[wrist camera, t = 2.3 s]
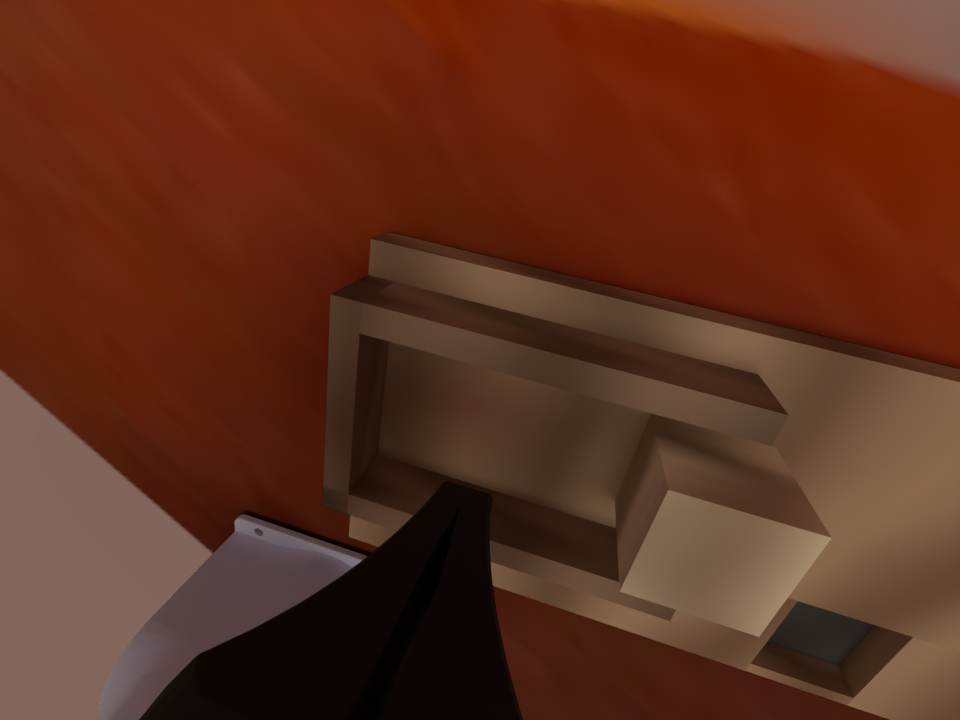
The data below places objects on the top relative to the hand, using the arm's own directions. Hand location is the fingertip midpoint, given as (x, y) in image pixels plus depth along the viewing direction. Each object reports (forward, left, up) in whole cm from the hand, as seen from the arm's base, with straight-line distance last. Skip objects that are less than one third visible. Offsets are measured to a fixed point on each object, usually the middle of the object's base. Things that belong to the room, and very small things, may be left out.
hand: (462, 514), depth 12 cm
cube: (+7, 0, -5) cm, 9 cm away
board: (+9, -2, -7) cm, 12 cm away
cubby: (+1, 0, -5) cm, 5 cm away
